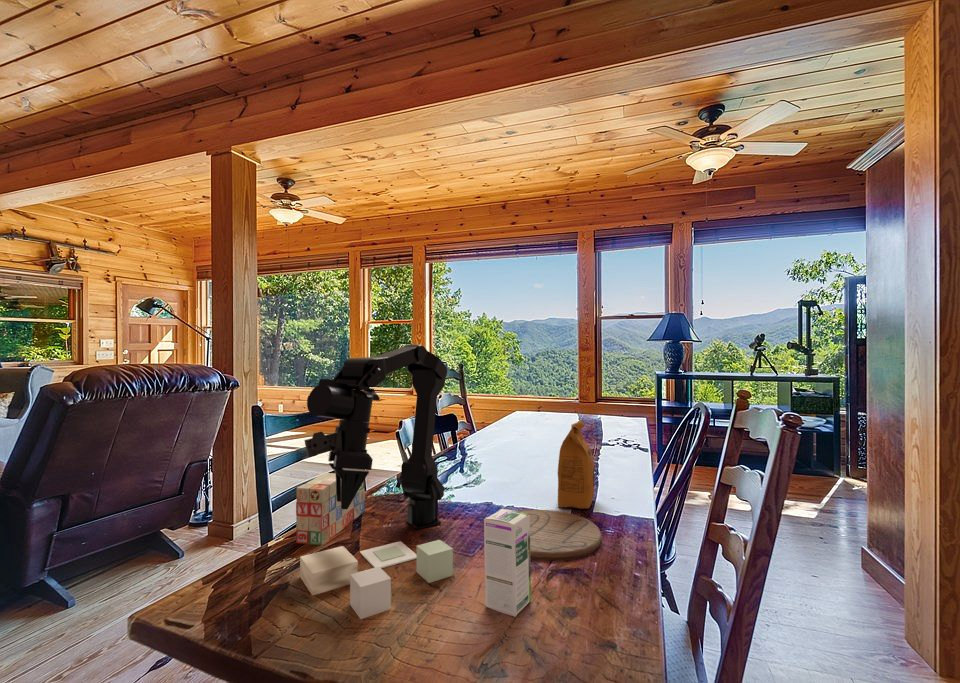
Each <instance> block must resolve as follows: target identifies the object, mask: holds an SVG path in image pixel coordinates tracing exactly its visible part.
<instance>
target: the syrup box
mask: <svg viewBox="0 0 960 683" xmlns="http://www.w3.org/2000/svg"><path fill="white" fill-rule="evenodd" d="M520 511H521V510H514V509H507V508H500V509H499V510H498V511H496V512H494V513H493V514H490V515H489V516H487V517H485V518H484V519H483V533H484V534H483V541H484V543H483V546H484V548H483V549H484V550H483V551H484V552H483V553H484V592H485V593H484V596H485V597H484V602H485V603H484V605H485V607H487V608H489V609H491V610H493V611H496V612H498V613H502V614H504V615H505V614H506V615H508V616H511V617H514V618H516V617H517V616H518V614H519V613H520V612H521V611H522V610H523V609H525V607H526V606H527V605H528V604H529V603H530V602H531V601H532V574H531V572H532V570H531V569H532V568H531V567H532V566H531V565H532V564H531V558H530V515H529V514H527V513H523V512H520Z"/></svg>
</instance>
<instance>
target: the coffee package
mask: <svg viewBox="0 0 960 683" xmlns="http://www.w3.org/2000/svg"><path fill="white" fill-rule="evenodd" d="M585 426H586V425H585V423H584V422H583V420H578V422H575V423H573V424H571V426H570V427H571V428H570V430H569V431H568V433H567V435H566V437H565V438H564V440H563V441H562V442H561V443H562V444H560V445H561V446H560V449H559V454H558V464H557V507H559V508H562V509H563V508H567V507H570V508H571V507H572V508H575V509H582V510H583V509H589V508H590V507H591V505H592V503H593V500H594V497H595V481H596V480H595V478H596V472H595V461H594V460H595V459H594V456H593V453H592V449H591V447H590V446H589V444H588V443H587V441H586V440H585V437H584V435H583V433H582V429H583V428H585ZM572 508H571V509H572Z"/></svg>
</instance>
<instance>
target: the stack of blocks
mask: <svg viewBox="0 0 960 683" xmlns="http://www.w3.org/2000/svg"><path fill="white" fill-rule="evenodd" d="M365 490H366V489H365V480H364V481H363V483H362V485H361V486H360V488H359V490H358V492H357V493H356V495H355V497H354V499H353V500H352V502H351V504H350V506H349V507H348V509H342V508H341V502H338V501H337V495H336V475H335V472H334V473H333V472H331V473H330V472H329V473H328V472H324V473H323V474H321V475H319V476H316V477H315V478H313V479H311V480H309V481H307V482H306V483H304V484H301V485H298V486H297V487H296V504H295V517H296V518H295V519H296V521H295V522H296V526H295V528H296V530H295V535H296V536H295V543H296V544H302V545H303V544H304V545H317V546H323V545H324V544H326V543H327V542H328V541H330V540H331V539H332V538H333V537H335V536H336V535H337V534H338V533H340V532H341V531H342V530H343V529H344V528H346V527H347V526H348V525H349V524H351V523H352V522H353V521H354V520H356V519H357V518H359V516H361V515H362V514H363V513H365V509H366V508H365V507H366V506H365V502H366V501H365V498H366V497H365V496H366V494H365Z"/></svg>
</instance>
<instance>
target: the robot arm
mask: <svg viewBox="0 0 960 683" xmlns="http://www.w3.org/2000/svg"><path fill="white" fill-rule="evenodd" d="M403 368H405V370H406V372H407V373H409V375H411V385H412V387H413V389H414V392H415V394H416V403H415V413H414V421H413V422H414V423H413V424H414V425H413V432H412V433H413V434H412V443H411V444H412V445H411V453H410V456H409V458H408V459H407V461H403V462H402V463H401V468H400V469H401V473H400V476H399V480H400V486H401V490H402V494H403V497H404V498H409V499H408V500H409V503H408V504H407V518H406V519H405V520H406V522H407V523H408V524H410V525H411V526H412V527H414V528H415V529H417V530H419V529H424V528H428V527H433V526H436V525H441V524H442V520H440V519H439V501H441V500H443V499H442V498H443V497H444V496H445V487H444V485H443V484H442V482H441V481H440V479H439V477H438V467H437V464H436V462H435V460H434V457H433V447H434V446H433V445H434V437H435V436H434V435H435V425H436V424H435V423H436V421H435V420H436V412H437V402H438V401H437V399H438V396H439V395H440V393H441V392H442V391H443V389H444V388H445V385H446V379H447V376H448V367H447V366H446V364H445V363H444V362H443V360H442V359H441V358H440V357H439V356H437V355H436V354H434V353H432V352H430V351H429V350H427V348H426V347H425V346H424V345H422V344H405V345H404V346H402V347H399V348H397V349H393V350H391V351H388V352H385V353H382V354H379V355H376V356H371V357H369V356H363V357H352V358H348V359H346V360H345V361H344V362H343V366H342V367H341V368H340V369H339V371H338V372H337V374H335V376H334V377H333V378H332V379H330V378H320V379H319V381H318V385H316V386H314V387H313V388H312V390H311V391H310V393H309V395H308V396H307V398H306V399H307V400H306V407H307V411H308V412H309V414H311V415H312V416H314V417H320V418H328V419H335V420H338V425H337V426H335V429H334V432H332V433H328V434H325V433H324V432H323V430H322V431H321V430H320V431H318V432H314V433H313V434H312V436H311V437H310V438H307V439H304V444H305V451H306V455H307V456H306V457H307V458H312V457H315V456H317V455H319V454H323V453H329V455H328V459H327V460H328V465H329V466H330V467H331V469H332V470H333V471H334V473H335V475H336V495H337V501H338V502H341V508H342V509H348V507H349V506H350V504H351V502H352V500H353V499H354V497H355V495H356V493H357V492H358V490H359V488H360V486H361V485H362V483H363V481H364V482H365V480H366V478H367V476H368V475H369V474H370V471H371V470H372V468H373V467H372V466H373V460H374V459H373V458H372V456H371V455H370V454H369V453H368V449H367V442H368V436H369V434H370V433H371V427H370V420H371V415H372V414H371V413H372V407H373V402H374V401H375V402H376V401H377V402H379V401H380V397H379V395H378V394H377V392H376V390H375V388H376V387H377V386H379V385H381V384H382V382H384V381H385V380H386V379H387V376H388V375H389V374H391V373H393V372H396V371H398V370H400V369H403Z"/></svg>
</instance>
